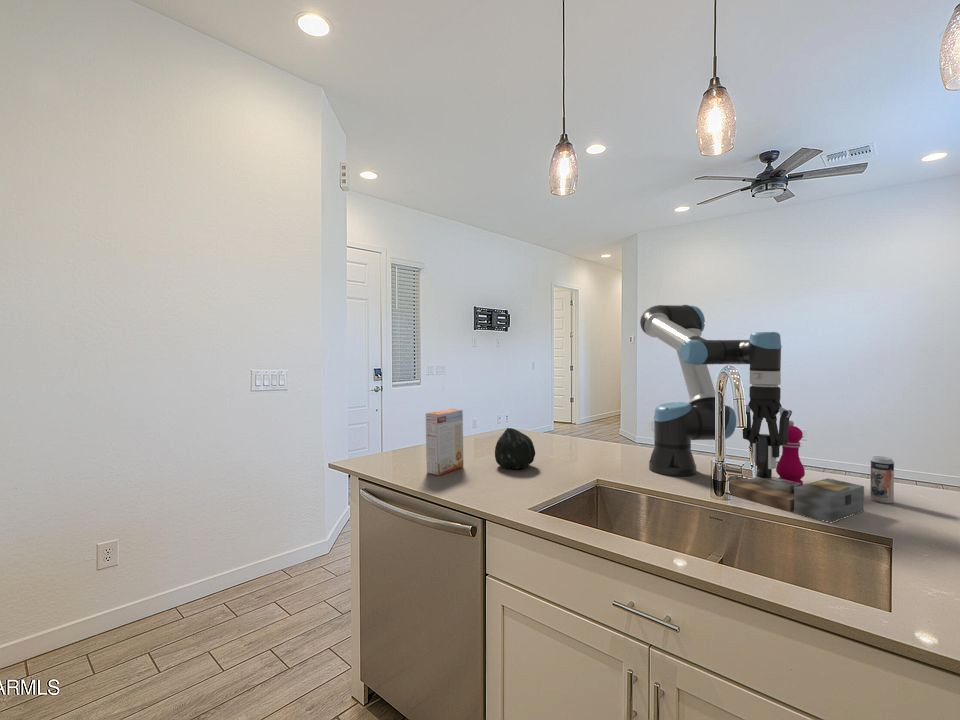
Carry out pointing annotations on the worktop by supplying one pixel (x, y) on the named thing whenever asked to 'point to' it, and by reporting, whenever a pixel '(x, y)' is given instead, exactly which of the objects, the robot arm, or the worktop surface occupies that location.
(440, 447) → the cracker box
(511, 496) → the worktop surface
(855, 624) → the worktop surface
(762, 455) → the black l-shaped bracket
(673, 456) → the robot arm
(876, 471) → the beer can
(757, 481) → the brown grey flat block
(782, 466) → the pepper mill
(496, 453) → the squash
